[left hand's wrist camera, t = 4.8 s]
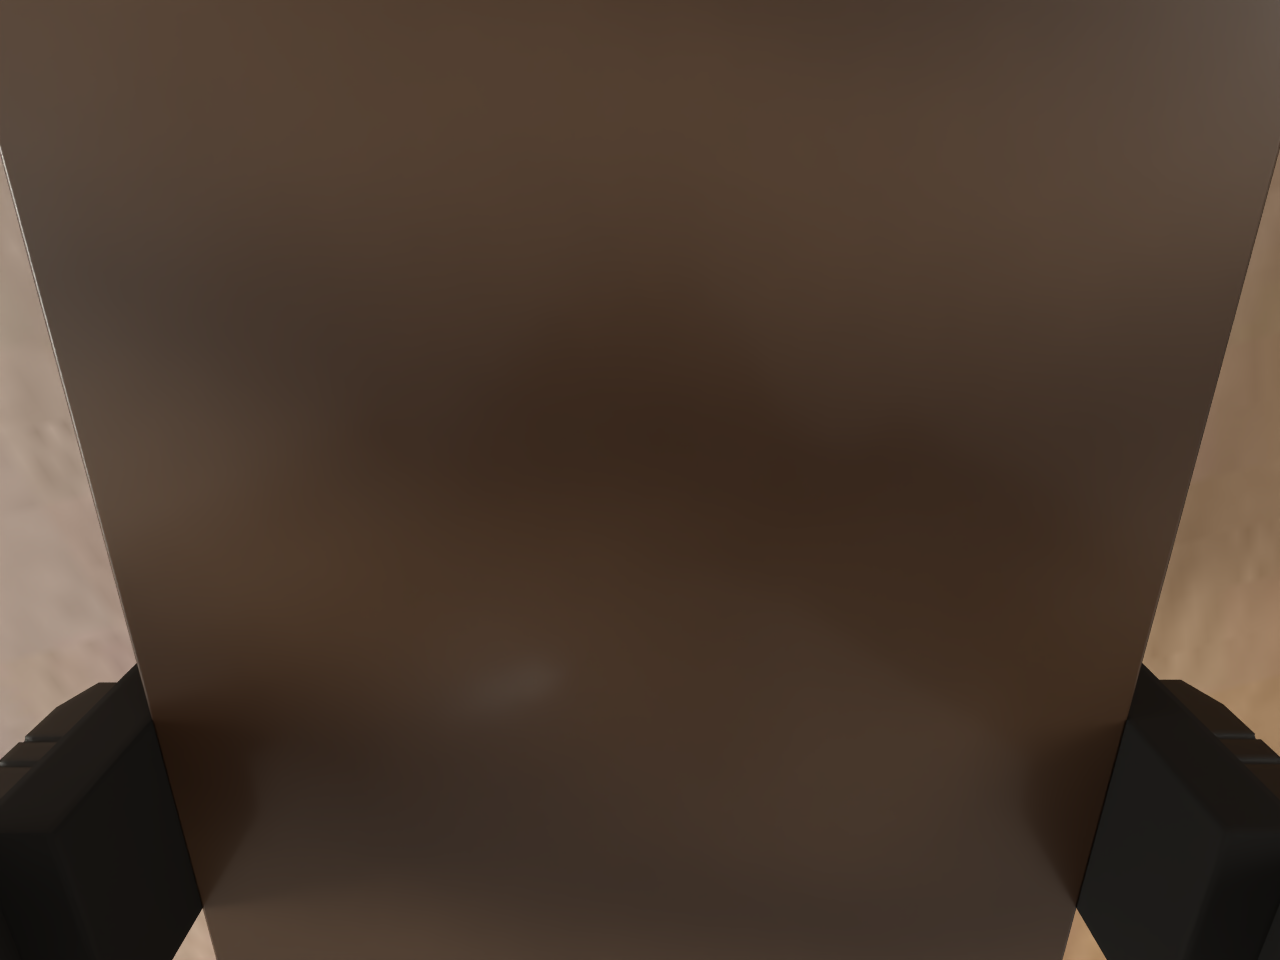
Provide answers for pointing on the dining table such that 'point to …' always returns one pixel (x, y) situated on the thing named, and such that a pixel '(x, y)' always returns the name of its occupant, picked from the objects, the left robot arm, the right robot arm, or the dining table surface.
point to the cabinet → (639, 444)
